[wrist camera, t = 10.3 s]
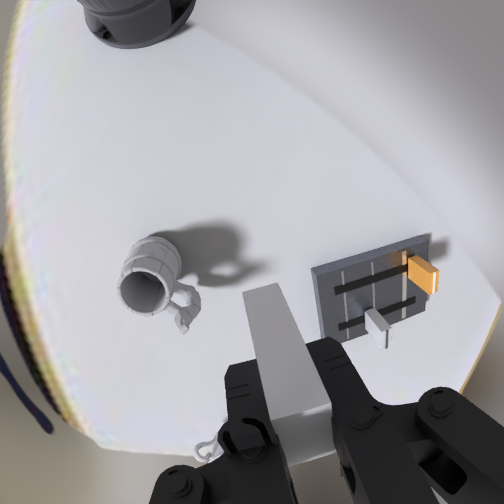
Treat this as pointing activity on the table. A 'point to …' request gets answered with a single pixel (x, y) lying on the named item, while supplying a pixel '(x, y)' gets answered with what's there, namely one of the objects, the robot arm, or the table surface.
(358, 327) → the console
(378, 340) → the fader white
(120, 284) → the mug
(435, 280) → the fader orange
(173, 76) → the table surface
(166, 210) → the table surface
